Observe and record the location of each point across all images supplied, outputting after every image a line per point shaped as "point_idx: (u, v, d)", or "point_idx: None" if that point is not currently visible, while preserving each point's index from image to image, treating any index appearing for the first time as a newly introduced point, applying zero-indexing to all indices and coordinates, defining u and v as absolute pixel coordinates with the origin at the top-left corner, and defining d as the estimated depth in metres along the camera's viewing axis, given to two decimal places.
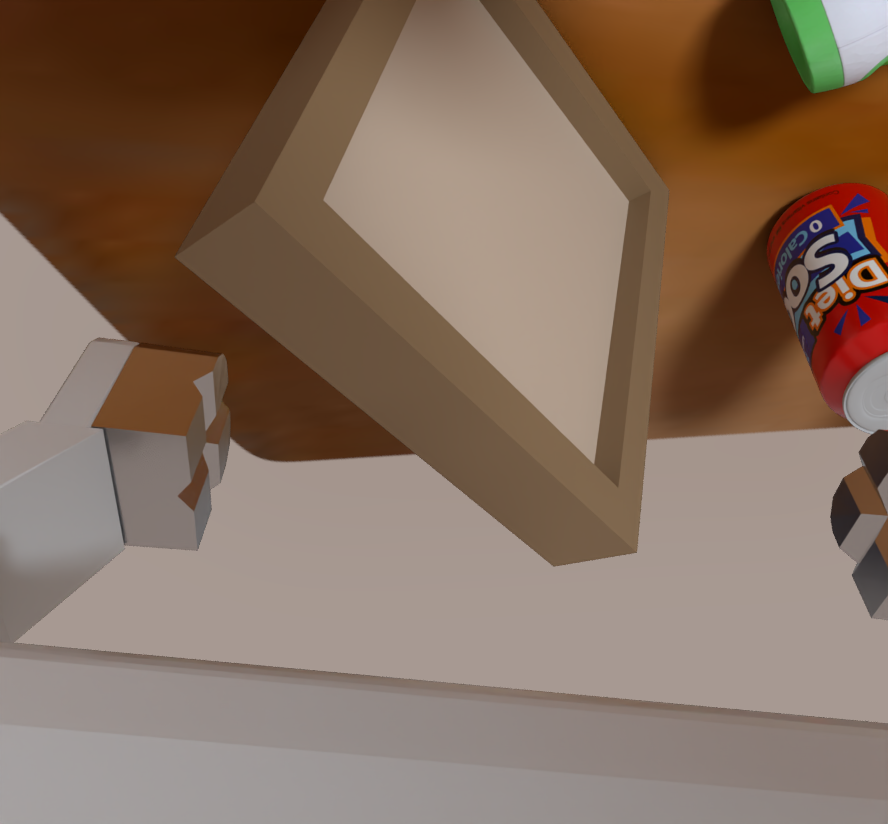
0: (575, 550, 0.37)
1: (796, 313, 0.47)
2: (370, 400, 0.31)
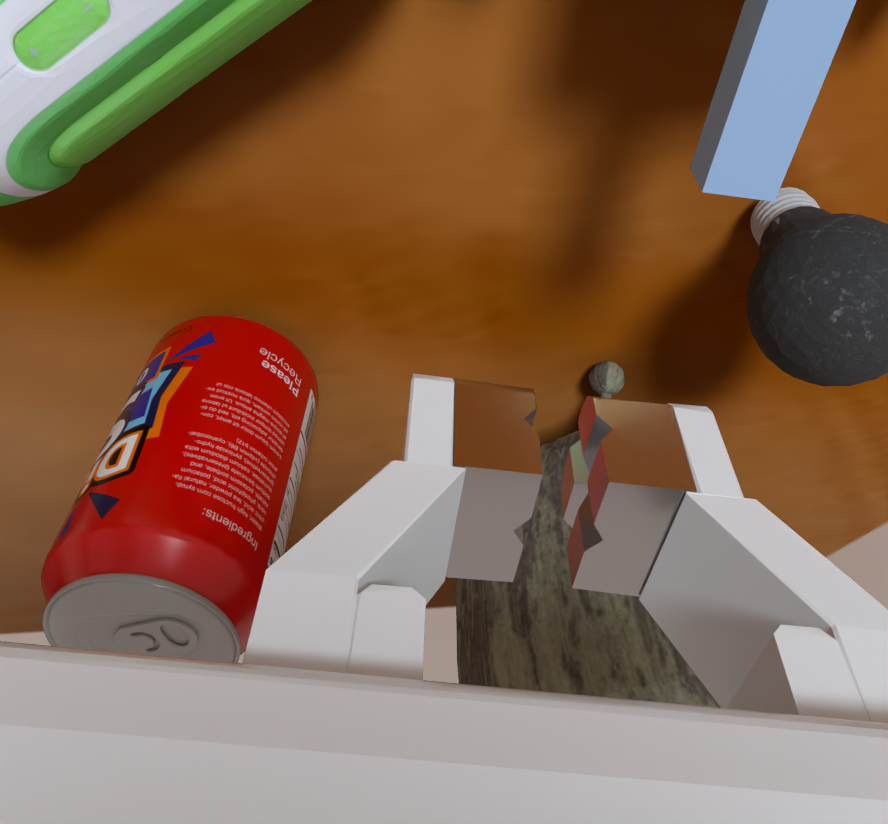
0: None
1: None
2: None
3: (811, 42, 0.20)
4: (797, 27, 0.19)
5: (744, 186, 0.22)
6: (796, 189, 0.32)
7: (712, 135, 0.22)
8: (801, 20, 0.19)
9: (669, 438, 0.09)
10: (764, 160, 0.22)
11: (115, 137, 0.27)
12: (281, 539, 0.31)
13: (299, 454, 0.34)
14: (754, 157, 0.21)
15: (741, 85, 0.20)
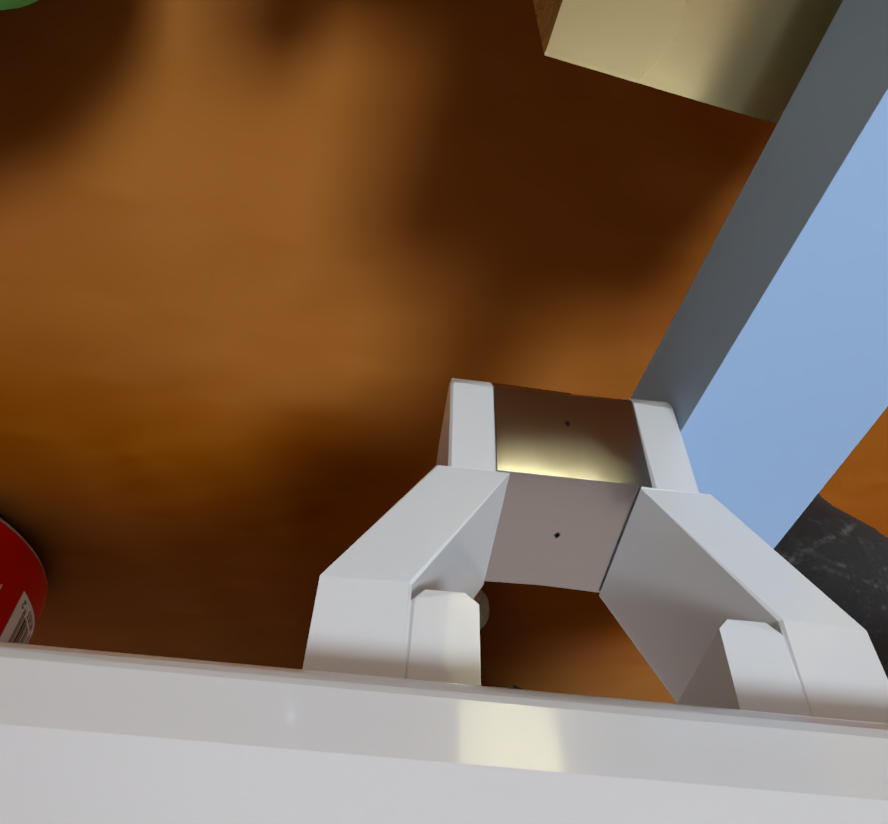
0: None
1: None
2: None
3: (856, 362, 0.09)
4: (832, 331, 0.09)
5: None
6: None
7: None
8: (843, 319, 0.08)
9: (627, 433, 0.09)
10: None
11: None
12: None
13: None
14: None
15: (695, 419, 0.09)
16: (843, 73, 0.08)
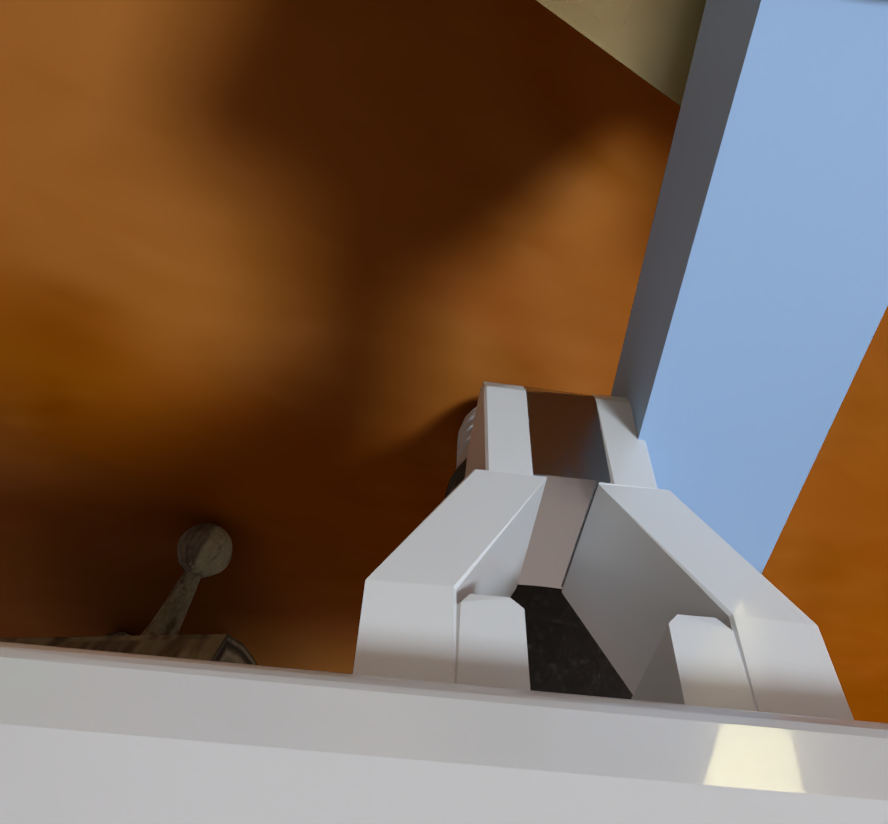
0: None
1: None
2: None
3: (804, 337, 0.08)
4: (767, 311, 0.08)
5: None
6: None
7: None
8: (775, 297, 0.08)
9: (588, 429, 0.09)
10: None
11: None
12: None
13: None
14: None
15: (650, 420, 0.09)
16: (717, 47, 0.07)
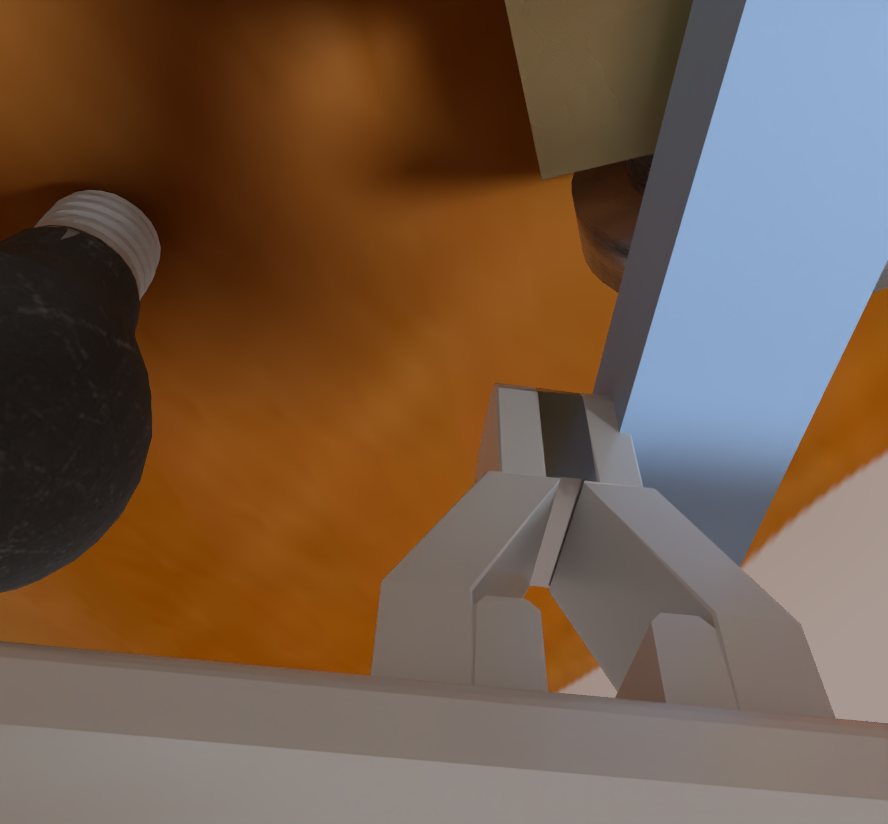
0: None
1: None
2: None
3: (783, 337, 0.08)
4: (747, 310, 0.08)
5: None
6: (154, 233, 0.18)
7: None
8: (755, 296, 0.08)
9: (575, 427, 0.09)
10: None
11: None
12: None
13: None
14: None
15: (630, 416, 0.09)
16: (703, 48, 0.07)
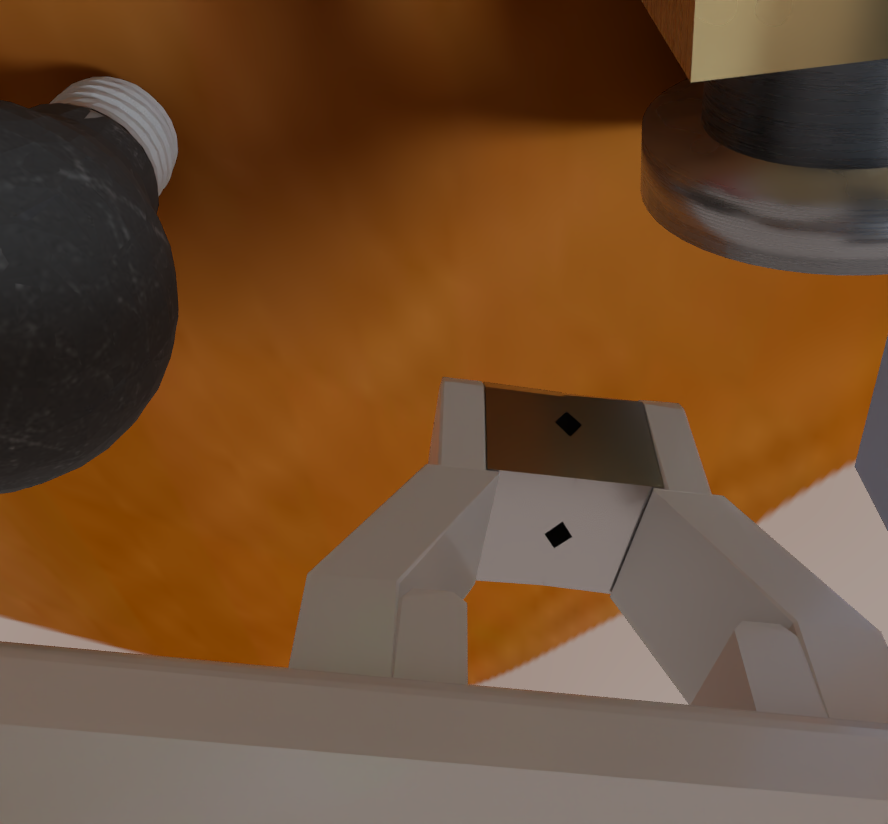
0: None
1: None
2: None
3: None
4: None
5: None
6: (173, 135, 0.17)
7: None
8: None
9: (638, 435, 0.09)
10: None
11: None
12: None
13: None
14: None
15: None
16: None
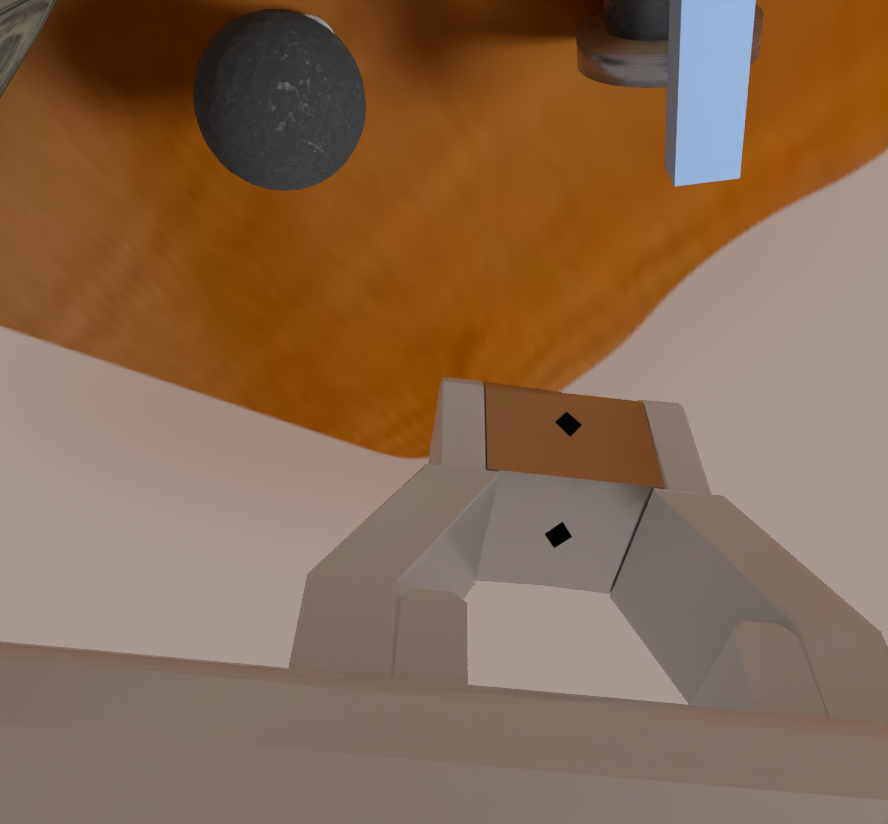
0: None
1: None
2: None
3: (728, 47, 0.23)
4: (712, 39, 0.23)
5: (709, 172, 0.26)
6: None
7: (671, 138, 0.26)
8: (714, 33, 0.23)
9: (639, 435, 0.09)
10: (720, 148, 0.25)
11: None
12: None
13: None
14: (710, 148, 0.25)
15: (680, 96, 0.24)
16: None
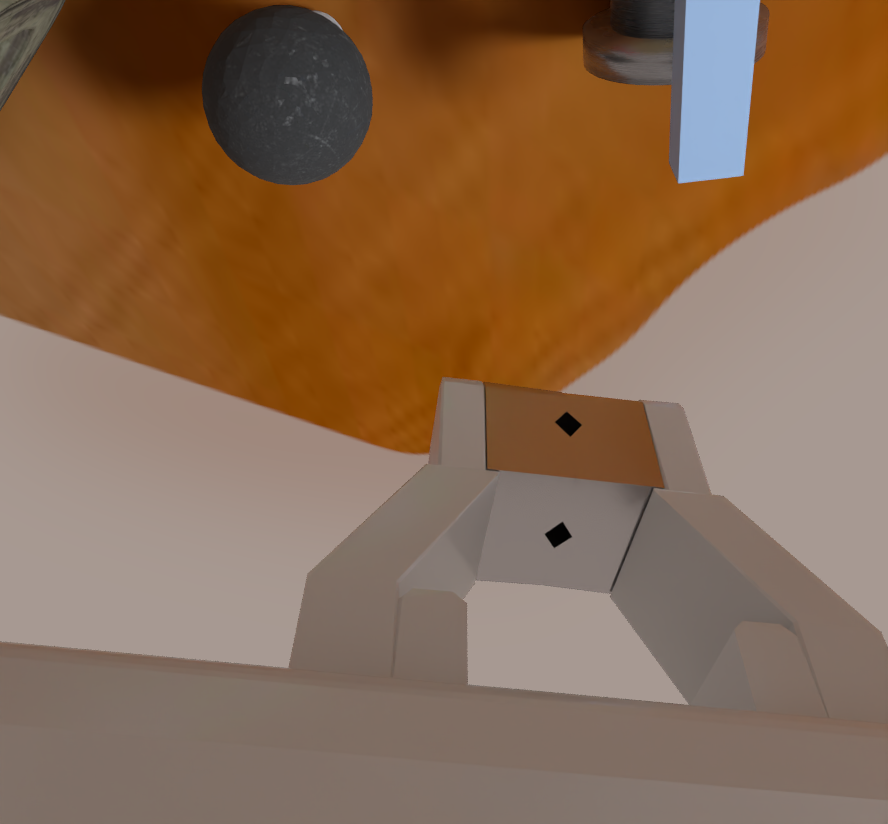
0: None
1: None
2: None
3: (732, 45, 0.24)
4: (716, 37, 0.23)
5: (713, 170, 0.26)
6: None
7: (675, 135, 0.26)
8: (718, 31, 0.23)
9: (639, 435, 0.09)
10: (723, 146, 0.25)
11: None
12: None
13: None
14: (714, 145, 0.25)
15: (684, 93, 0.24)
16: None
